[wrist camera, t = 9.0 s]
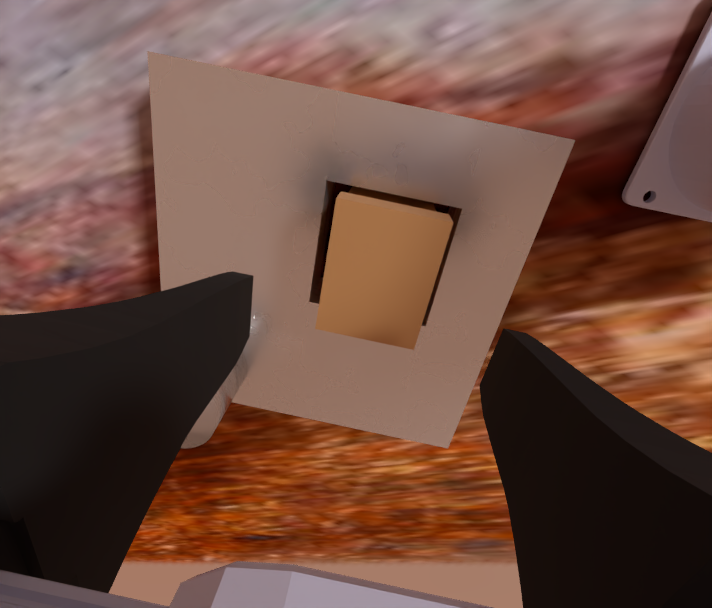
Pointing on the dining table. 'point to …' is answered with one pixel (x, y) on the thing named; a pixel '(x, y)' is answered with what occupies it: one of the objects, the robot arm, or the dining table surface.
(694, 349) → the dining table surface
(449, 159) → the grey slab with hole
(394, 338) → the tan chamfered block
